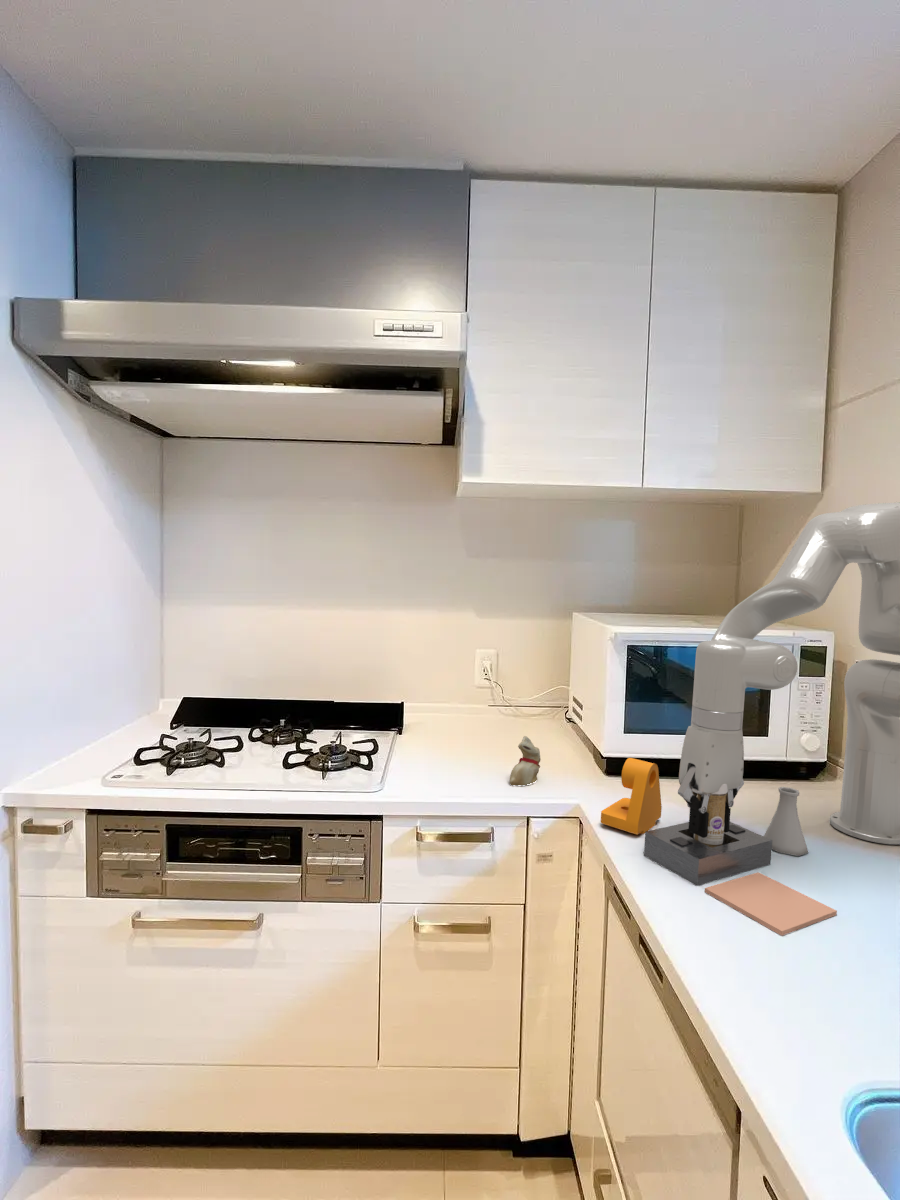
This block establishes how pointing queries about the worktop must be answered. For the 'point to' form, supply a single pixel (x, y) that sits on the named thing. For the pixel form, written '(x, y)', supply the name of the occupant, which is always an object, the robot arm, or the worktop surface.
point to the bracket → (636, 799)
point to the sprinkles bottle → (715, 818)
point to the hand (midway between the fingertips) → (708, 830)
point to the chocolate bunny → (526, 764)
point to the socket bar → (707, 852)
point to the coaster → (770, 903)
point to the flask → (787, 825)
